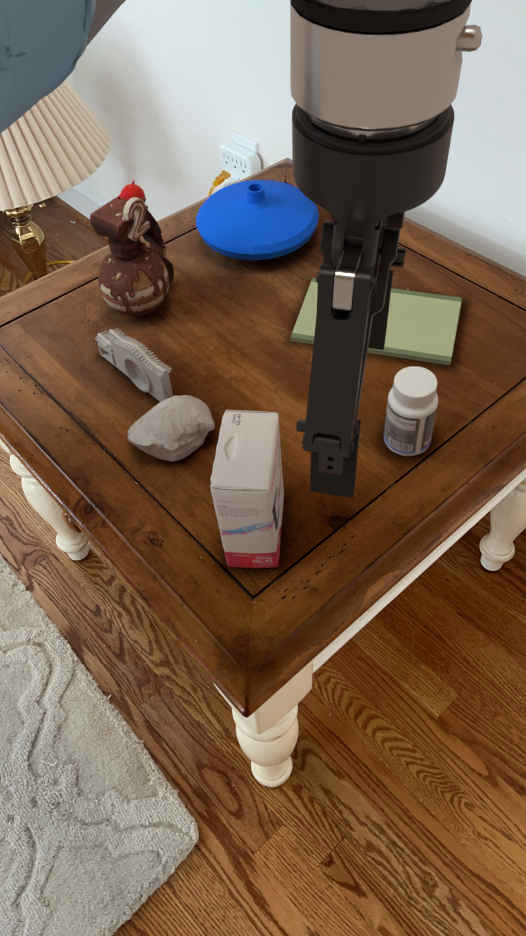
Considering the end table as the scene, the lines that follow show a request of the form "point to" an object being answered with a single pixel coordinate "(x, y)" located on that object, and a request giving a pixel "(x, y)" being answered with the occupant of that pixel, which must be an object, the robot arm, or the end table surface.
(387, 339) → the mat
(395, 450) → the pill bottle
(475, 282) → the end table surface
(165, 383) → the garden wall model
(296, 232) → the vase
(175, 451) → the grey stone
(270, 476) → the ink box
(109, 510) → the end table surface
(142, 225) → the grenade
